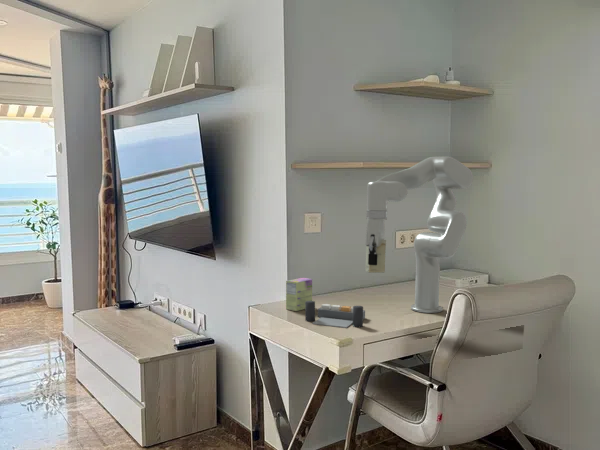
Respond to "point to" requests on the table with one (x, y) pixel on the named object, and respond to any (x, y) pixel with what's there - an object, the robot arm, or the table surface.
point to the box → (298, 293)
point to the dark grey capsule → (357, 316)
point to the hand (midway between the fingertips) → (375, 263)
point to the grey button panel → (335, 316)
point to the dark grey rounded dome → (310, 311)
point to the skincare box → (380, 259)
